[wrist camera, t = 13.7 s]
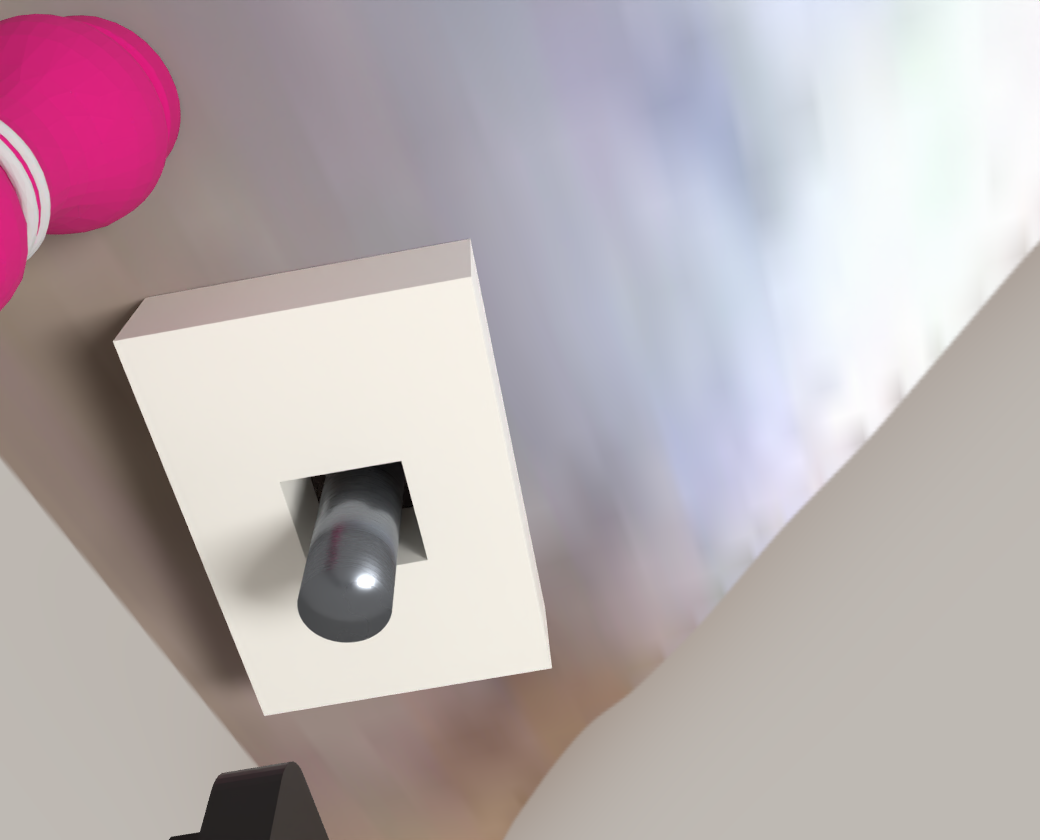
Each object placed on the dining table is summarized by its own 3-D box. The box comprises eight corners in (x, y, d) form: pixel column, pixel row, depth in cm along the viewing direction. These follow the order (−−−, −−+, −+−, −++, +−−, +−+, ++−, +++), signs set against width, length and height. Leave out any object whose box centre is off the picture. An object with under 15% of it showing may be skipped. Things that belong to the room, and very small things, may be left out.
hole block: (145, 297, 42) (112, 341, 38) (470, 238, 42) (471, 276, 38) (279, 651, 52) (264, 715, 48) (544, 607, 51) (551, 668, 47)
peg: (319, 442, 46) (285, 577, 37) (395, 428, 46) (379, 561, 37) (340, 506, 48) (311, 649, 39) (413, 493, 48) (401, 634, 39)
